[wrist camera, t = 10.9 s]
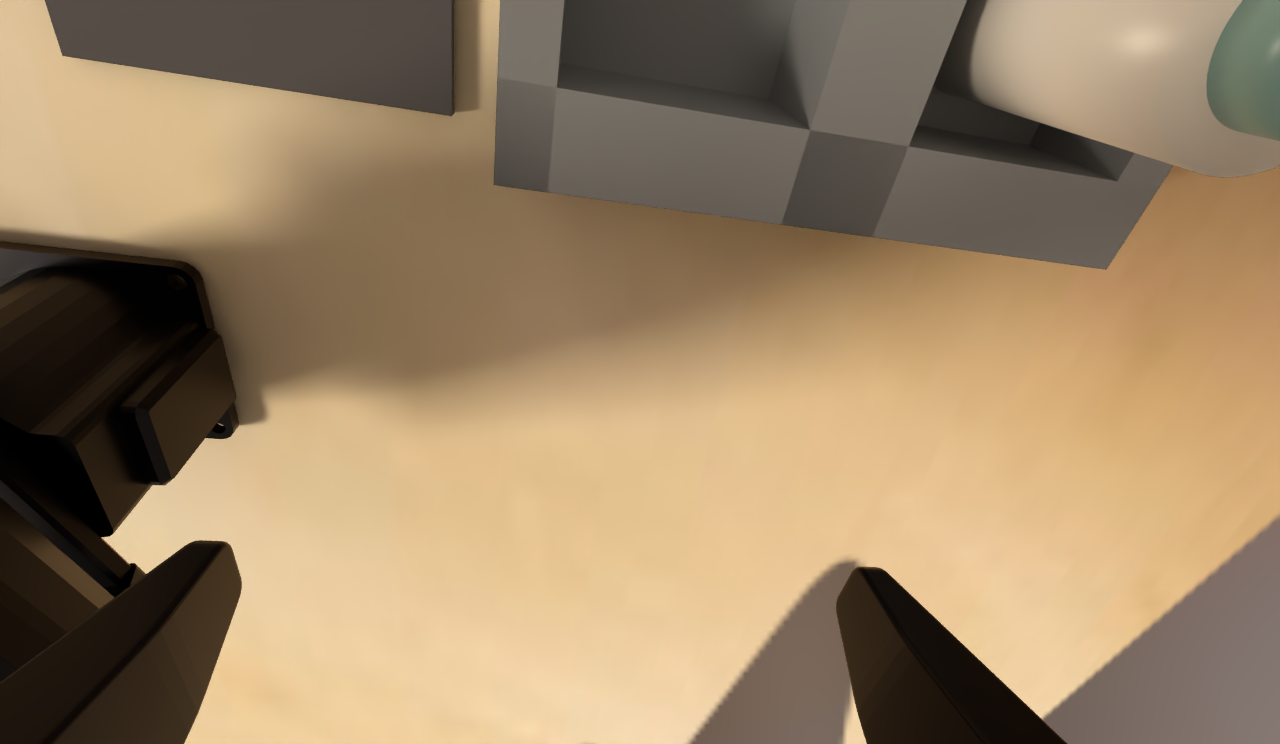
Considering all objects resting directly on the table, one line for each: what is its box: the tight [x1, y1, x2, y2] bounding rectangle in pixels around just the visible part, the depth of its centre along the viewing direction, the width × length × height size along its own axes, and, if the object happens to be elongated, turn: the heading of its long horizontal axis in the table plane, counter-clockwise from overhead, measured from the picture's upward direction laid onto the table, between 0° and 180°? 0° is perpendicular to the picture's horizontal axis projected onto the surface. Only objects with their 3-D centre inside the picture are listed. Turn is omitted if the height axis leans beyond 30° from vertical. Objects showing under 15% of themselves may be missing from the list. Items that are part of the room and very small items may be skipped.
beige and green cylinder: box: [933, 0, 1280, 178], centre depth 12 cm, size 4×4×9 cm
